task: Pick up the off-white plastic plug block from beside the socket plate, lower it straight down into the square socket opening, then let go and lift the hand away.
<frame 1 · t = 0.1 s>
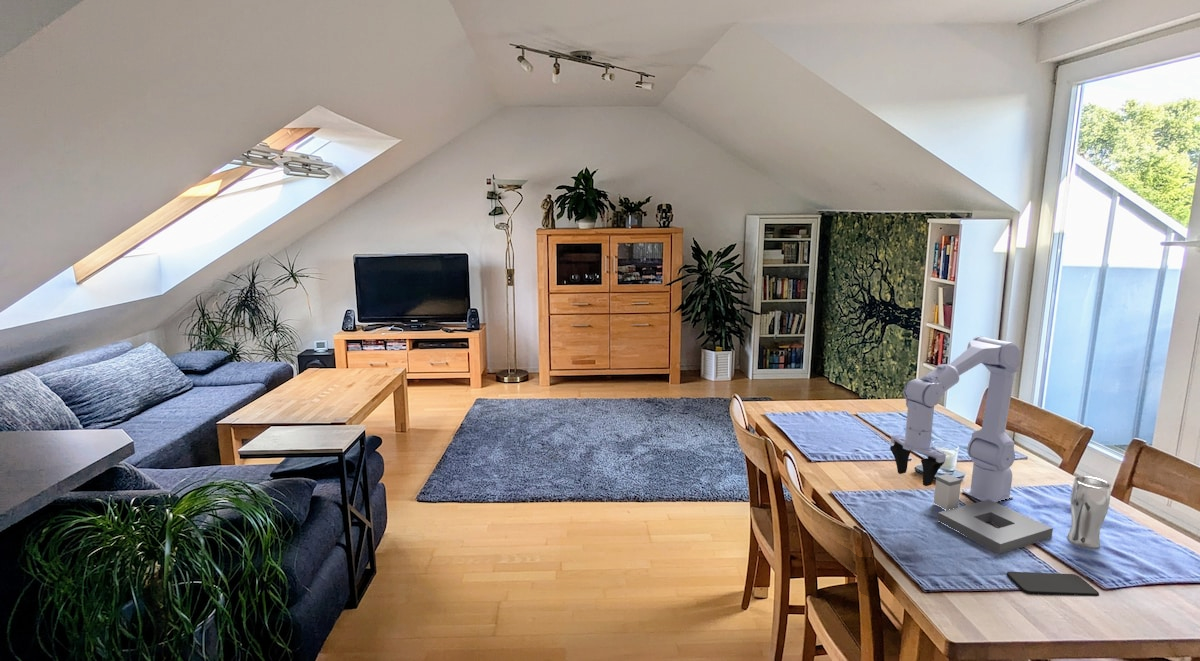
hand: (914, 478, 155), 10 cm above the table, tool pointing down, fingers open, 7 cm apart
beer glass: (1083, 542, 144), on the table
smartphone: (1051, 586, 128), on the table
socket: (992, 529, 150), on the table
plug: (945, 506, 162), on the table
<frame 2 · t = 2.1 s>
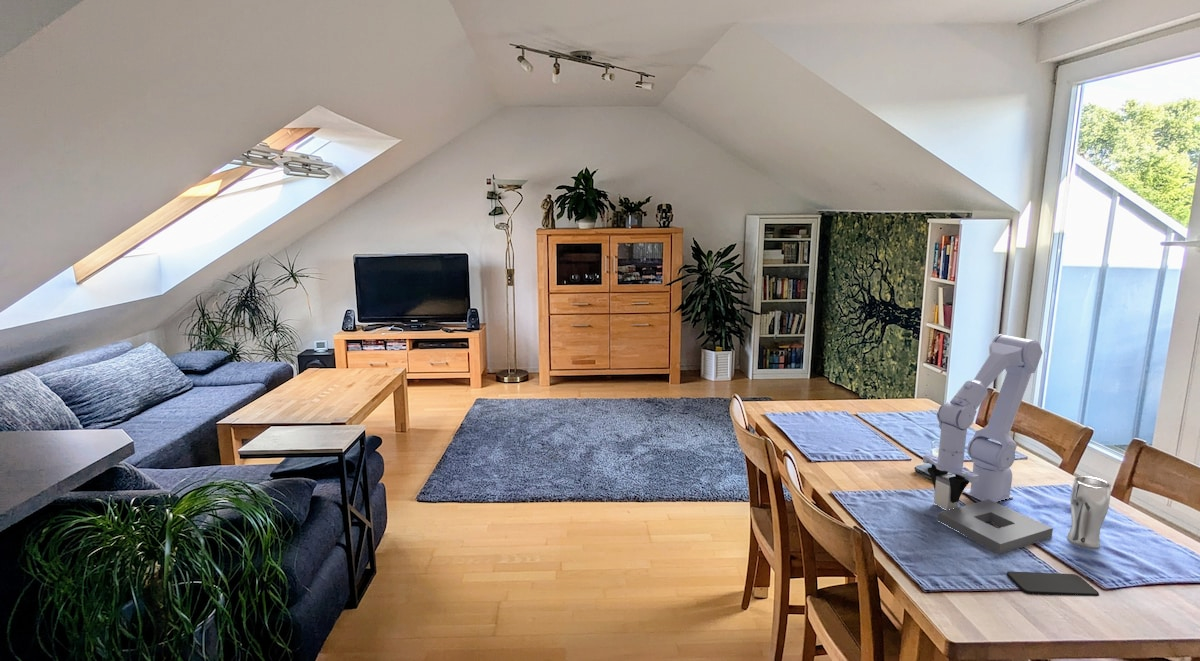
hand: (946, 497, 161), 2 cm above the table, tool pointing down, fingers closed on plug, 4 cm apart
plug: (945, 506, 162), on the table, touching gripper
everything else where it was.
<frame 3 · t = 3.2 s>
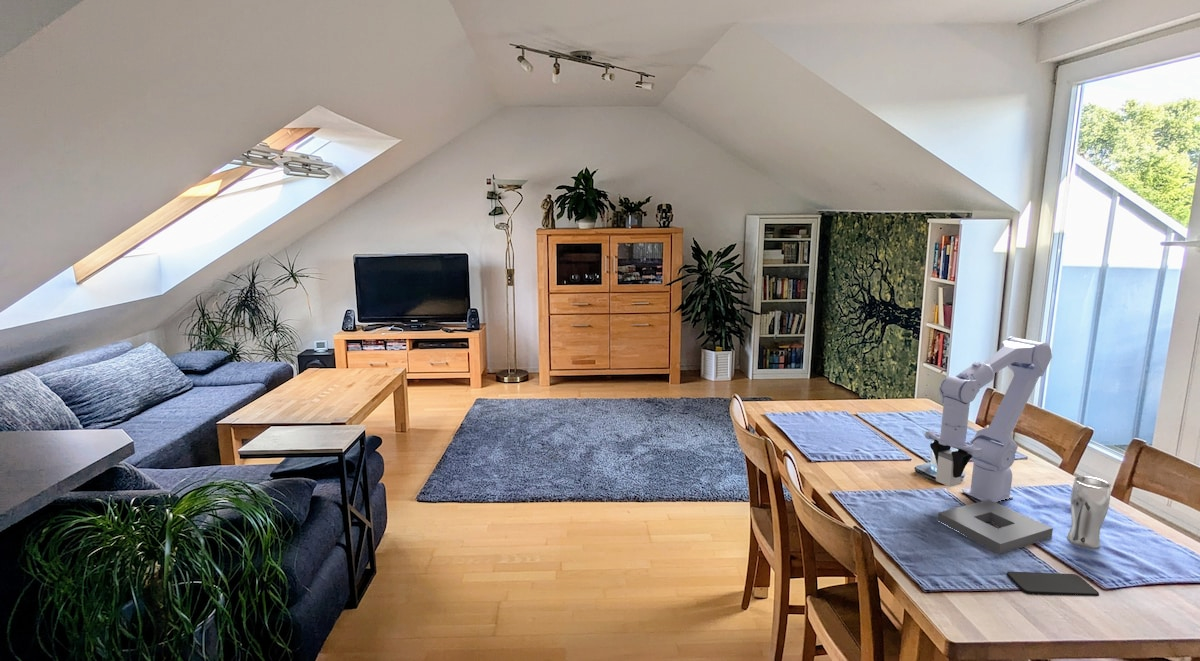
hand: (949, 473, 160), 9 cm above the table, tool pointing down, fingers closed on plug, 4 cm apart
plug: (948, 482, 160), point 7 cm above the table, touching gripper
everything else where it was.
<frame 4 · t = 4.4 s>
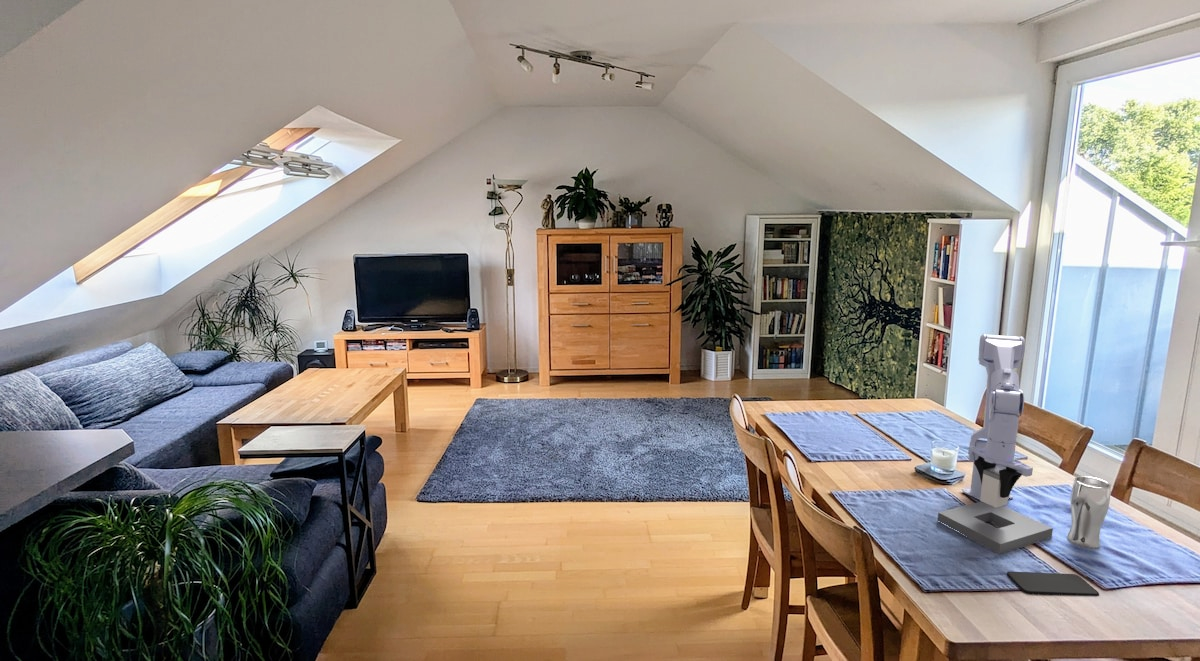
hand: (995, 492, 149), 9 cm above the table, tool pointing down, fingers closed on plug, 4 cm apart
plug: (993, 502, 149), point 7 cm above the table, touching gripper
everything else where it was.
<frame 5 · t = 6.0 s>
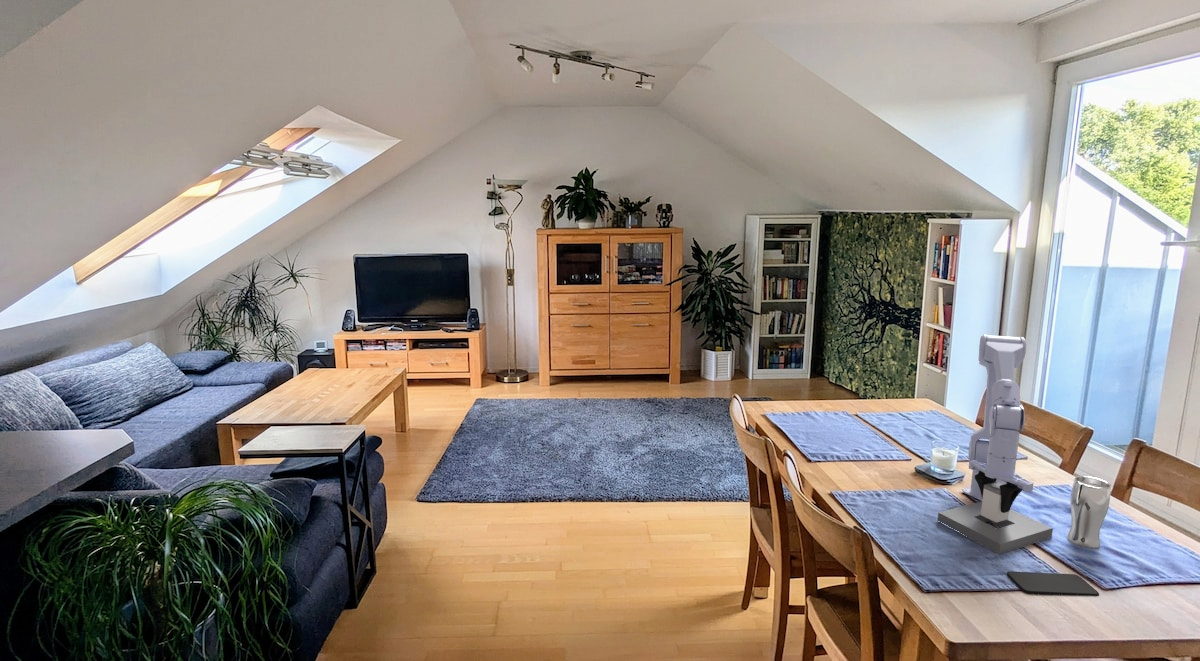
hand: (995, 507, 149), 6 cm above the table, tool pointing down, fingers closed on plug, 4 cm apart
plug: (994, 517, 149), point 3 cm above the table, touching gripper
everything else where it was.
when the fingers open (3 cm above the table, at t = 7.2 s): plug stays where it is, resting in socket.
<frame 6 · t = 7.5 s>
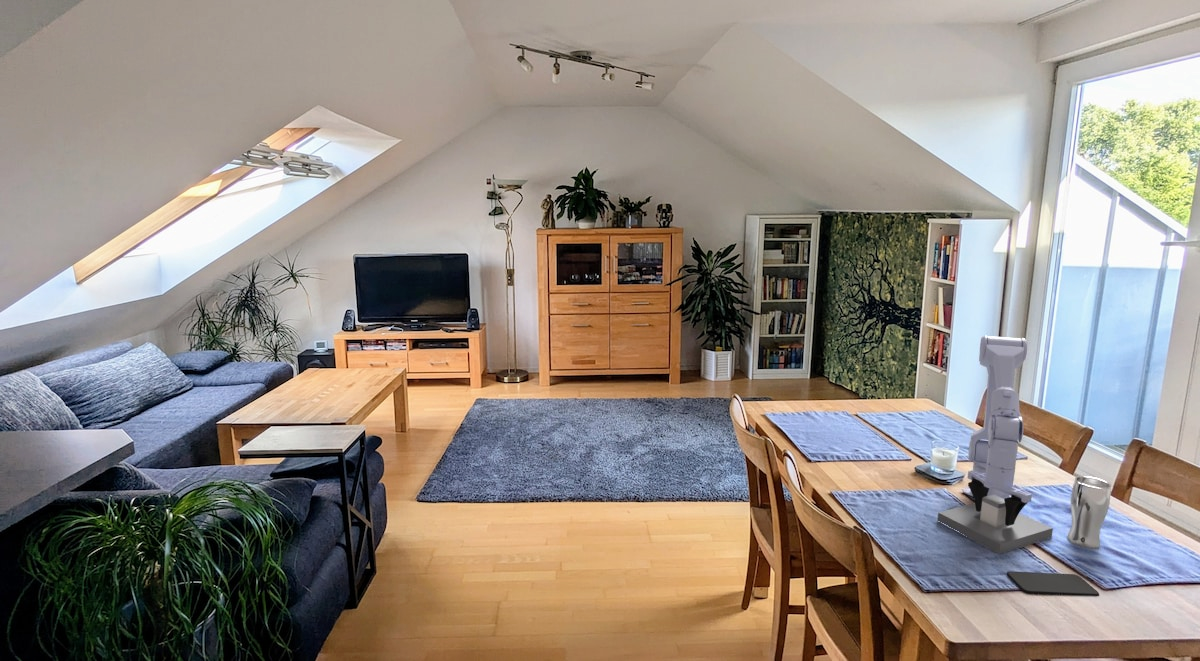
hand: (994, 517, 149), 3 cm above the table, tool pointing down, fingers open, 7 cm apart
plug: (992, 529, 150), resting in socket
everything else where it was.
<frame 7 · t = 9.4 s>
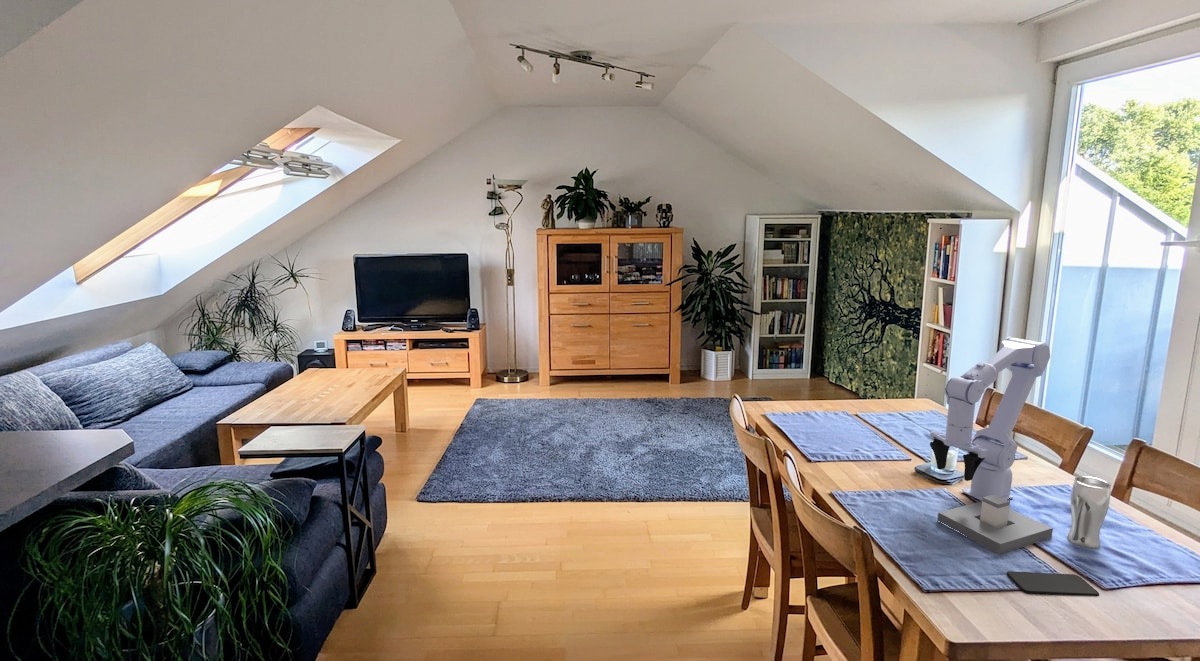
hand: (954, 474, 159), 9 cm above the table, tool pointing down, fingers open, 7 cm apart
nothing on the table moved.
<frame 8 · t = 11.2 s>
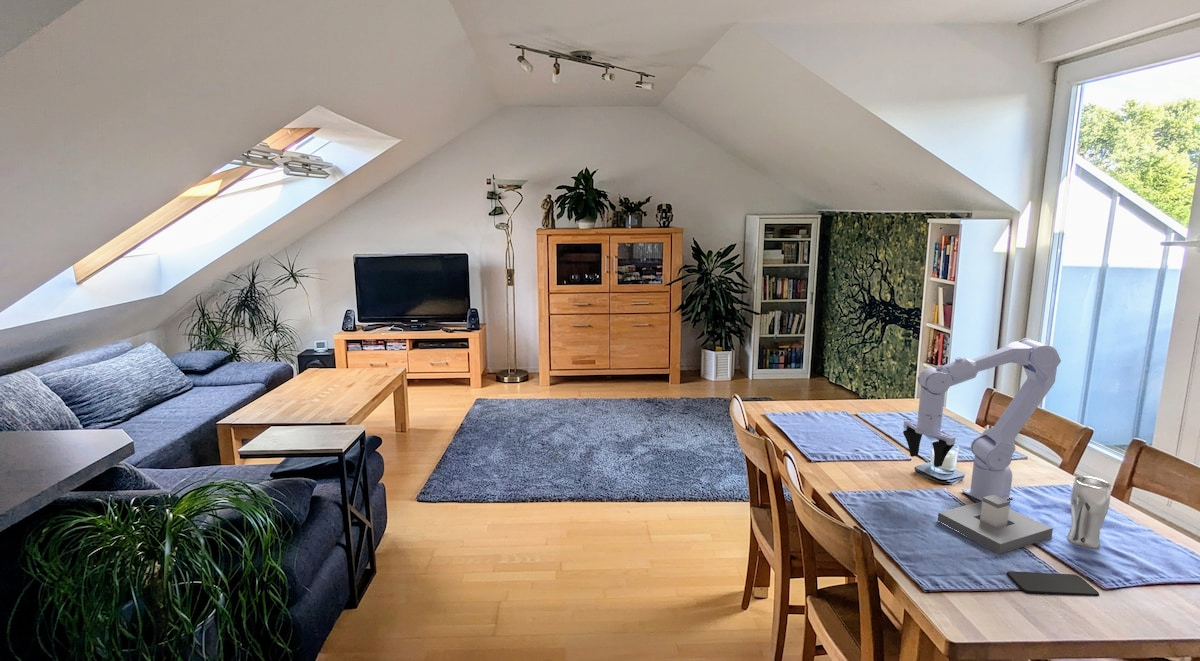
hand: (925, 460, 168), 9 cm above the table, tool pointing down, fingers open, 7 cm apart
nothing on the table moved.
at the end: plug 0.1 cm off-centre on the socket, point 0.0 cm above the socket's base; plug tilted 0°; the gripper is holding nothing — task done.
